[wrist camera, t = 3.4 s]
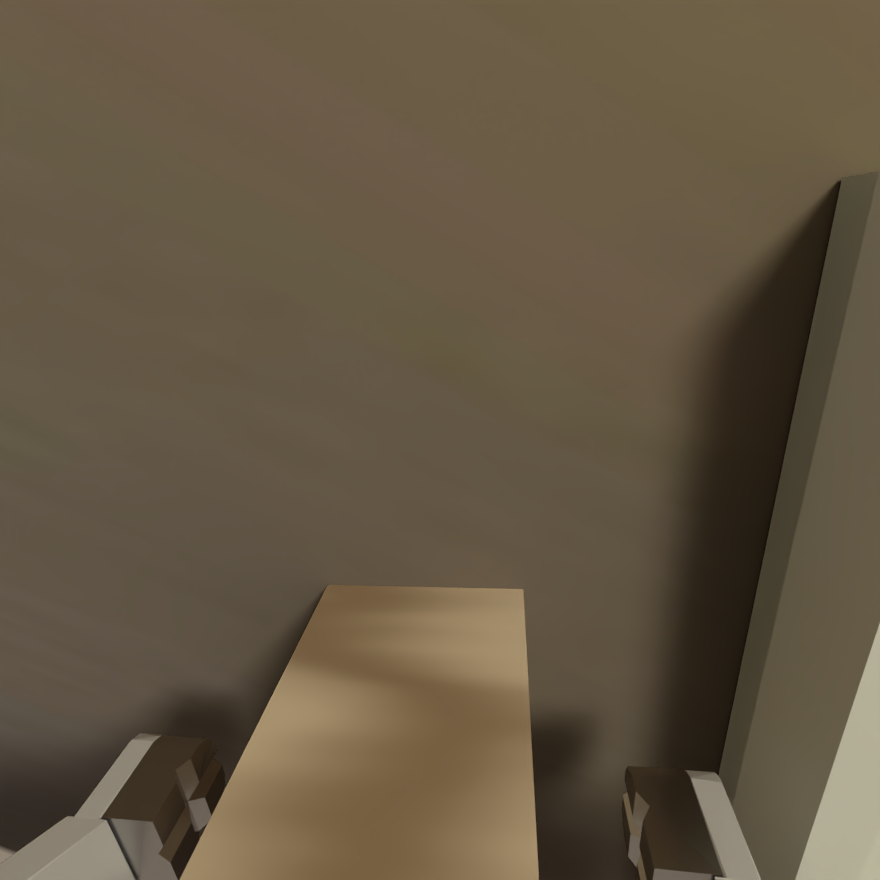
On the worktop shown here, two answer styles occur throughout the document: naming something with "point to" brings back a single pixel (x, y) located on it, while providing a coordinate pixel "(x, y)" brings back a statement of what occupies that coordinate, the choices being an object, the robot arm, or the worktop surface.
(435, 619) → the birch block
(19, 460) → the worktop surface
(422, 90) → the worktop surface
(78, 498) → the worktop surface
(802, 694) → the shallow rimmed tray
